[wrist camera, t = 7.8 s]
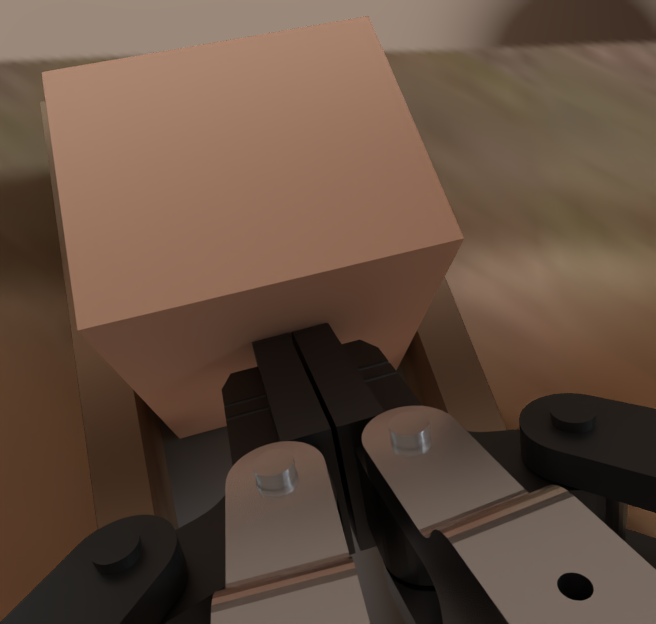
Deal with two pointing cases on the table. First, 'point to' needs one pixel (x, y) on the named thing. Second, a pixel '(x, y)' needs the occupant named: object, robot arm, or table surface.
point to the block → (243, 207)
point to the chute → (213, 446)
